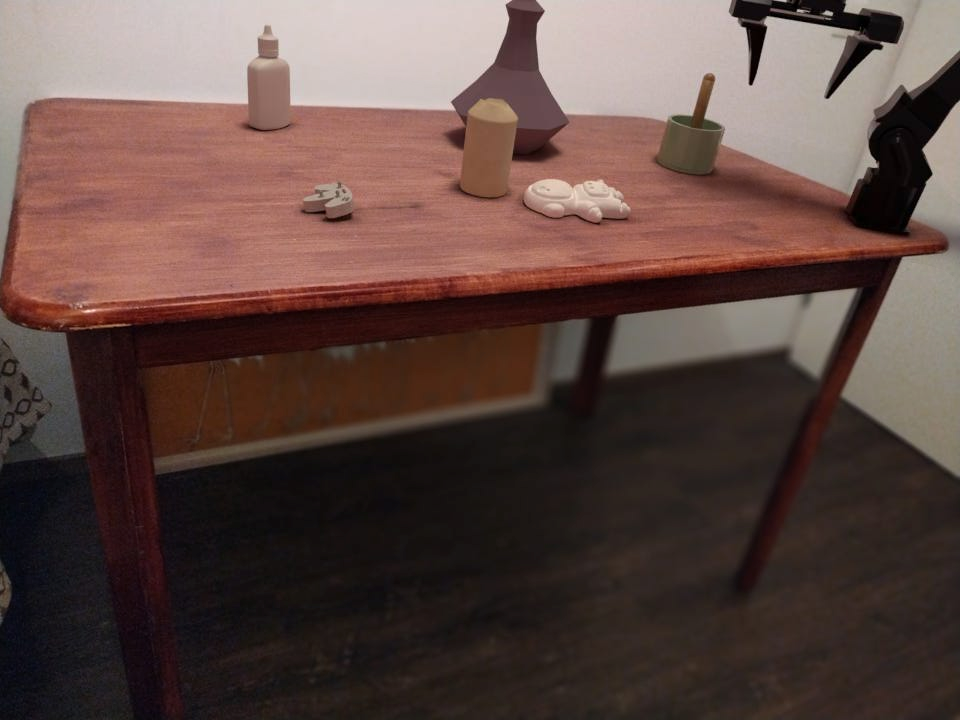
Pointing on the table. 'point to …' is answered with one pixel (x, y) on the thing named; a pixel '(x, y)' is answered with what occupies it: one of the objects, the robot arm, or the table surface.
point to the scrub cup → (690, 145)
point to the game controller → (331, 200)
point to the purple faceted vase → (518, 82)
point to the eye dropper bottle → (268, 85)
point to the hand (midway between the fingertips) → (787, 91)
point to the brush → (702, 101)
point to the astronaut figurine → (576, 200)
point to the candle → (488, 148)
